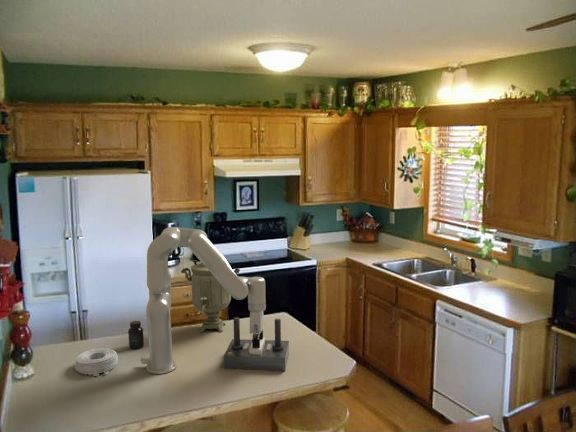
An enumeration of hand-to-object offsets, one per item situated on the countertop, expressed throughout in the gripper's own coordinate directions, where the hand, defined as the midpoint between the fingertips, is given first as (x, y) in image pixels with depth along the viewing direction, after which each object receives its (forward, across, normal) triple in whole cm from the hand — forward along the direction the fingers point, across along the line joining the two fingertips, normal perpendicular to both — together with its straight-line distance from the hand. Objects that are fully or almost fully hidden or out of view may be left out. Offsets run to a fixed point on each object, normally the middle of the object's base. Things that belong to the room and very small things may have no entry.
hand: (257, 343), depth 232 cm
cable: (+8, +12, -68) cm, 70 cm away
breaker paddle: (+7, 0, 0) cm, 7 cm away
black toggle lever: (+2, 0, +9) cm, 9 cm away
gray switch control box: (+8, 0, 0) cm, 8 cm away
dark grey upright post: (+2, 0, -9) cm, 9 cm away
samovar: (+8, -35, -30) cm, 47 cm away
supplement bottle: (+8, -11, -59) cm, 61 cm away
